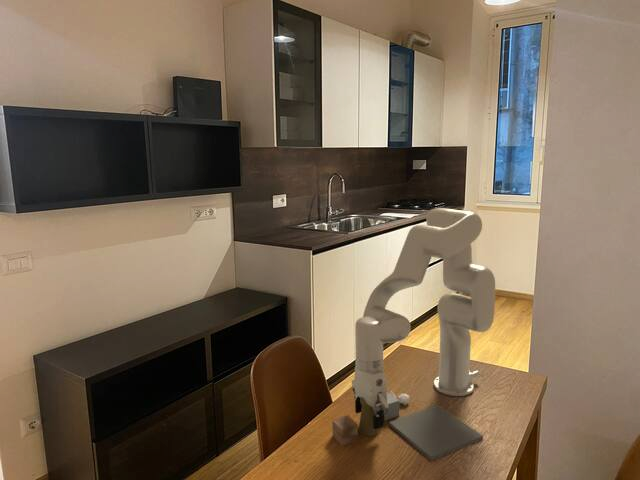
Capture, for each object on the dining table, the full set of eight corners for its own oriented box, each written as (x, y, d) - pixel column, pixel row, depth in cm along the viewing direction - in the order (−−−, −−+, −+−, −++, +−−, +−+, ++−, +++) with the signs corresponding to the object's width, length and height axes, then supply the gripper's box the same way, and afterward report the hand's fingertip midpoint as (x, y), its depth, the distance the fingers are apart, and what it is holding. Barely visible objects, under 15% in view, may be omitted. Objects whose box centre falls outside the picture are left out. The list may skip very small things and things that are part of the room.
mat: (437, 407, 147) (437, 404, 146) (482, 439, 131) (482, 435, 131) (388, 425, 138) (388, 422, 138) (431, 460, 123) (431, 457, 123)
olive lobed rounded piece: (379, 437, 133) (379, 400, 131) (357, 434, 134) (357, 398, 132) (381, 424, 139) (381, 389, 137) (360, 422, 140) (359, 387, 138)
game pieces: (373, 396, 155) (372, 386, 154) (378, 391, 158) (378, 382, 157) (406, 407, 147) (406, 398, 147) (411, 403, 150) (411, 393, 149)
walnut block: (348, 431, 136) (348, 415, 135) (357, 440, 132) (357, 424, 131) (332, 436, 134) (332, 420, 133) (341, 446, 130) (341, 429, 129)
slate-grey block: (389, 407, 147) (389, 392, 146) (399, 415, 143) (399, 400, 142) (375, 412, 145) (375, 397, 144) (385, 420, 141) (385, 405, 140)
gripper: (399, 371, 126) (399, 431, 130) (363, 347, 142) (363, 401, 145) (376, 378, 123) (375, 439, 127) (341, 353, 138) (341, 408, 142)
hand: (369, 419), depth 136 cm, fingers open, 8 cm apart
